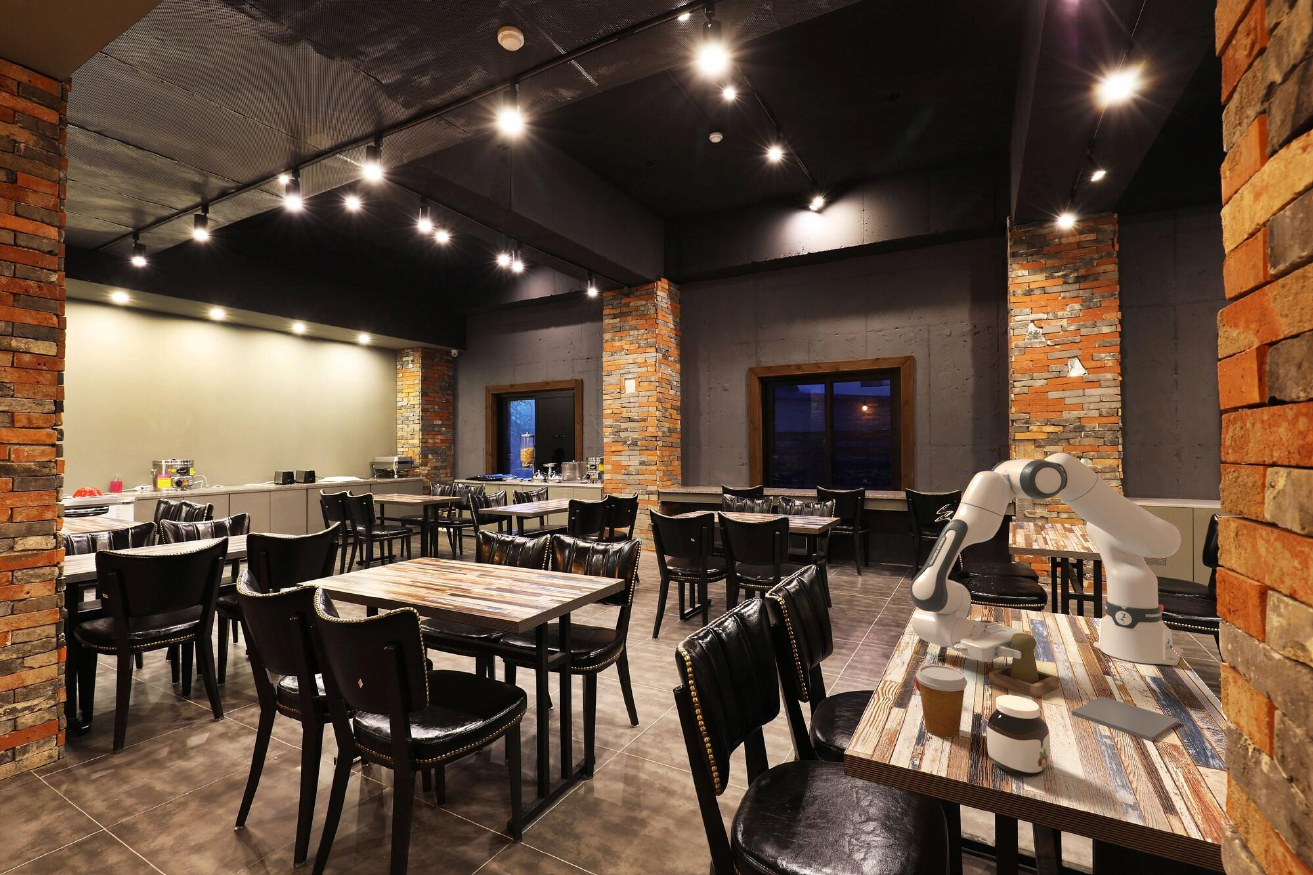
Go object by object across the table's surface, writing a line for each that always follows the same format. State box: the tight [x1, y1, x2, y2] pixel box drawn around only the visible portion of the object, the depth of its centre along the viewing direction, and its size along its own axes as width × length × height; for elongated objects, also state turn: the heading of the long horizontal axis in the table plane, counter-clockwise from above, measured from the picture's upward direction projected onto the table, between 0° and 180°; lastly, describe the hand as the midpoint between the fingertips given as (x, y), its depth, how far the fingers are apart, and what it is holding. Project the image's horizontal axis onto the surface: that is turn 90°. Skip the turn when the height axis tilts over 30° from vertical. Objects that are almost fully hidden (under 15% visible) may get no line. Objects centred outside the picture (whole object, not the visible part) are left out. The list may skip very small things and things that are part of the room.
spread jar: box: [985, 694, 1051, 778], centre depth 111 cm, size 12×11×12 cm
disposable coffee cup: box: [915, 664, 968, 739], centre depth 123 cm, size 10×10×12 cm
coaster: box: [1071, 695, 1180, 742], centre depth 127 cm, size 14×14×1 cm
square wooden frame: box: [988, 663, 1060, 699], centre depth 145 cm, size 11×11×2 cm
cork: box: [1010, 632, 1039, 684], centre depth 145 cm, size 6×6×11 cm
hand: (1027, 652), depth 145 cm, fingers closed on cork, 4 cm apart
